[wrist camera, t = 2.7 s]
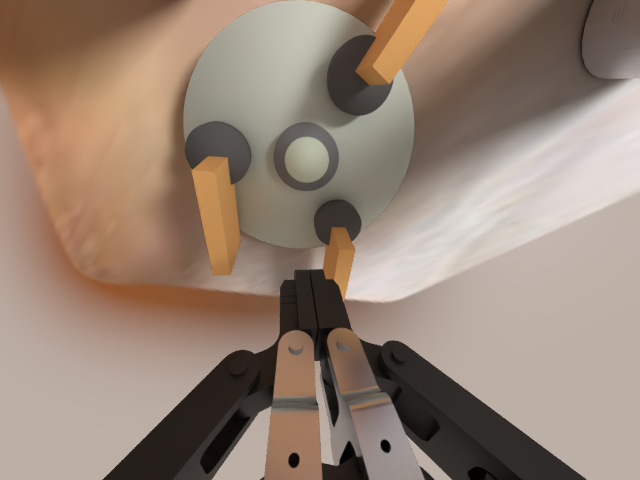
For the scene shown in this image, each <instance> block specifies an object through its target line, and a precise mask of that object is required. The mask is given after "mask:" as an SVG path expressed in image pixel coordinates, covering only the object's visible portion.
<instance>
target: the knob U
mask: <svg viewBox="0 0 640 480" xmlns="http://www.w3.org/2000/svg"><path fill="white" fill-rule="evenodd" d="M448 1H449V0H395V2H394V3H393V5H392V7H391V8H390V10H389V11H388V13H387V15H386V16H385V18H384V19H383V21H382V23H381V24H380V26H379V27H378V29H377V31H376V32H375V34H374V35H373V36H372V35H359V36H356V37H353V38H351V39H350V40H348V41H347V42H346V43H344V44H343V45H342V46H341V47H340V48H339V49H338V50H337V51H336V52H335V54H334V55H333V57H332V59H331V62H330V64H329V68H328V72H327V87H328V92H329V95H330V97H331V99H332V101H333V103H334V104H335V105H336V106H337V107H338V108H339V109H340V110H342V111H344V112H346V113H348V114H351V115H355V116H362V115H367V114H370V113H372V112H374V111H375V110H377V109H378V108H379V107H380V106H381V105H382V104H383V103H384V102H385V100H386V99H387V97H388V95H389V93H390V91H391V88H392V85H393V81H394V77H395V76H396V74H397V73H398V72H399V70H400V69H401V67H402V66H403V65H404V63H405V62H406V60H407V59H408V57H409V56H410V55H411V53H412V52H413V50H414V49H415V48H416V46H417V45H418V43H419V42H420V40H421V39H422V38H423V36H424V35H425V33H426V32H427V30H428V29H429V28H430V26H431V25H432V23H433V22H434V21H435V19H436V18H437V16H438V15H439V13H440V12H441V11H442V9H443V8H444V6H445V5H446V4H447V2H448Z"/></svg>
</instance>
